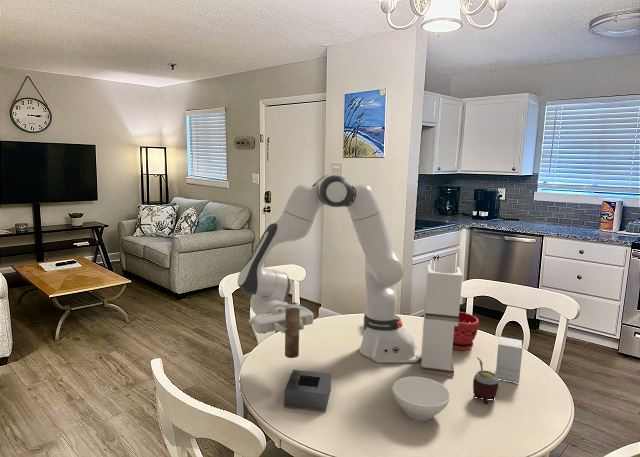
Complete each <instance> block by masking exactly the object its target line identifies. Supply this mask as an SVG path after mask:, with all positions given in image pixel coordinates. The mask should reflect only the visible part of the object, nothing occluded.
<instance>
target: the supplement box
mask: <svg viewBox="0 0 640 457" xmlns="http://www.w3.org/2000/svg"><path fill="white" fill-rule="evenodd" d="M496 355H497V357H496V368H495V375H496V377H497V379H501V380H506V381H511V382H516V383H519V384H520V377H521V376H520V375H521V369H522V368H521V367H522V358H523V357H522V356H523V340H521V339H515V338H510V337H509V338H508V337H505V336H499V338H498V344H497V354H496Z"/></svg>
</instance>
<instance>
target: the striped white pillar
mask: <svg viewBox="0 0 640 457" xmlns="http://www.w3.org/2000/svg"><path fill="white" fill-rule="evenodd" d="M431 267H432V266H431V264H427V269H426V270H427V271H426V282H425V283H426V286H425V294H424V295H425V296H424V298H425V299H424V311H423V323H422V324H423V325H422V339H421V340H422V341H421V351H420V353H421V358H420V372H422V373H423V374H429V373H431V374H430V375H437V374H440V375H439V376H444V375H450V376H449V377H452V376H455V369H454V368H455V367H454V362H453V336H454V326H458V322H459V321H460V319H459V312H460V310H461V309H460V308H461V307H460V305H461V295H462V284H463V283H462V282H463V273H462V271H461V268H460V267H459V266H456V269H455V272H453V273H448V272H445V273H444V272H438V271H434V270H433V269H432V268H431Z"/></svg>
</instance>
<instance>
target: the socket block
mask: <svg viewBox="0 0 640 457" xmlns="http://www.w3.org/2000/svg"><path fill="white" fill-rule="evenodd" d="M331 392H332V373H330V372H321V371H311V370H300V369H292V372H291V373H290V376H289V378H288V380H287V383H286V385H285V388H284V392H283V393H284V395H283V396H284V398H283V401H284V402H283V408H284V409H291V410H292V409H294V410H302V411H311V412H319V413H327V409H328V403H329V400H330V395H331Z"/></svg>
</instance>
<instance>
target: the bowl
mask: <svg viewBox="0 0 640 457" xmlns="http://www.w3.org/2000/svg"><path fill="white" fill-rule="evenodd" d="M391 388H392V394H393V396H394V400H395V401H396V402H397V404H398V405H399V406H400V407H401V409H403V411H405V413H406V415H407V416H408V417H409V418H411V419H413V420H416V421H421V422H426V421H429V420H431V419H432V418H434V417H435V416H437V415H438V414H440V413H441V412H442V411H443V410H445V408H447V406H448V404H449V403H450V400H451V393H450V391H449V389H448V388H447V387H446V386H445V385H444V384H442V383H440V381H436V380H434V379H432V378H427V377H423V376H404V377H400V378H399V379H397V380H395V381H394V382H393V384H392V387H391Z"/></svg>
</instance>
